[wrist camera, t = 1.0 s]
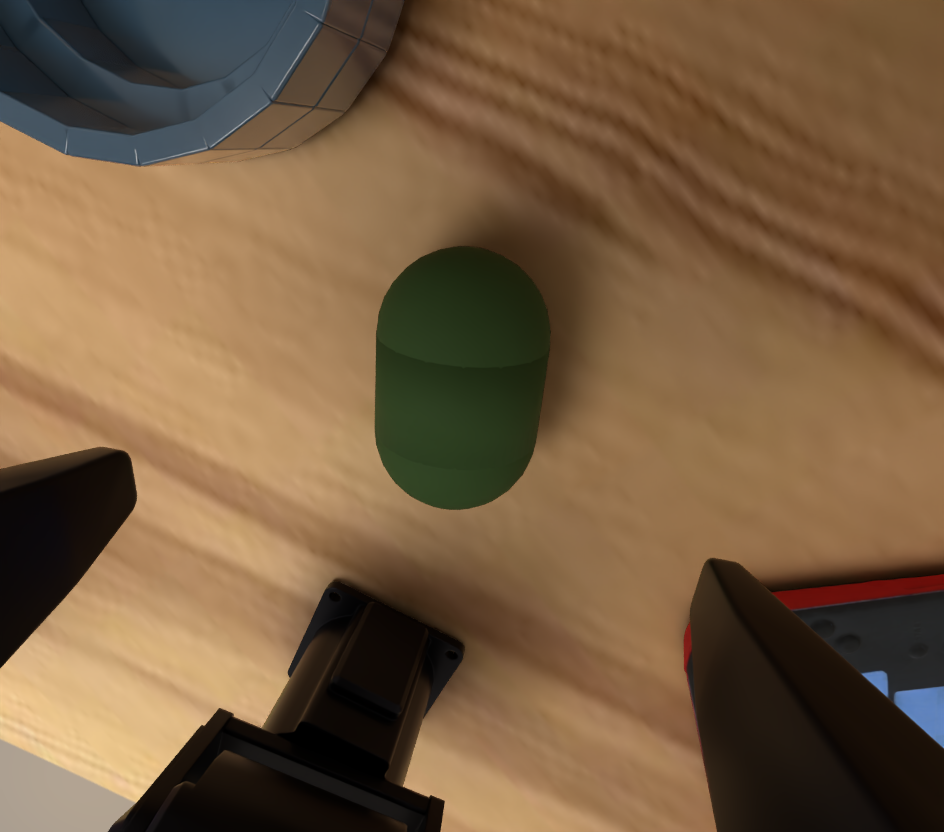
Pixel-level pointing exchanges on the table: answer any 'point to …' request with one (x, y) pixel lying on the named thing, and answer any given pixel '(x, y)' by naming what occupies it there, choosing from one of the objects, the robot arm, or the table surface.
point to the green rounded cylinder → (460, 376)
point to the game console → (878, 639)
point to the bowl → (185, 74)
